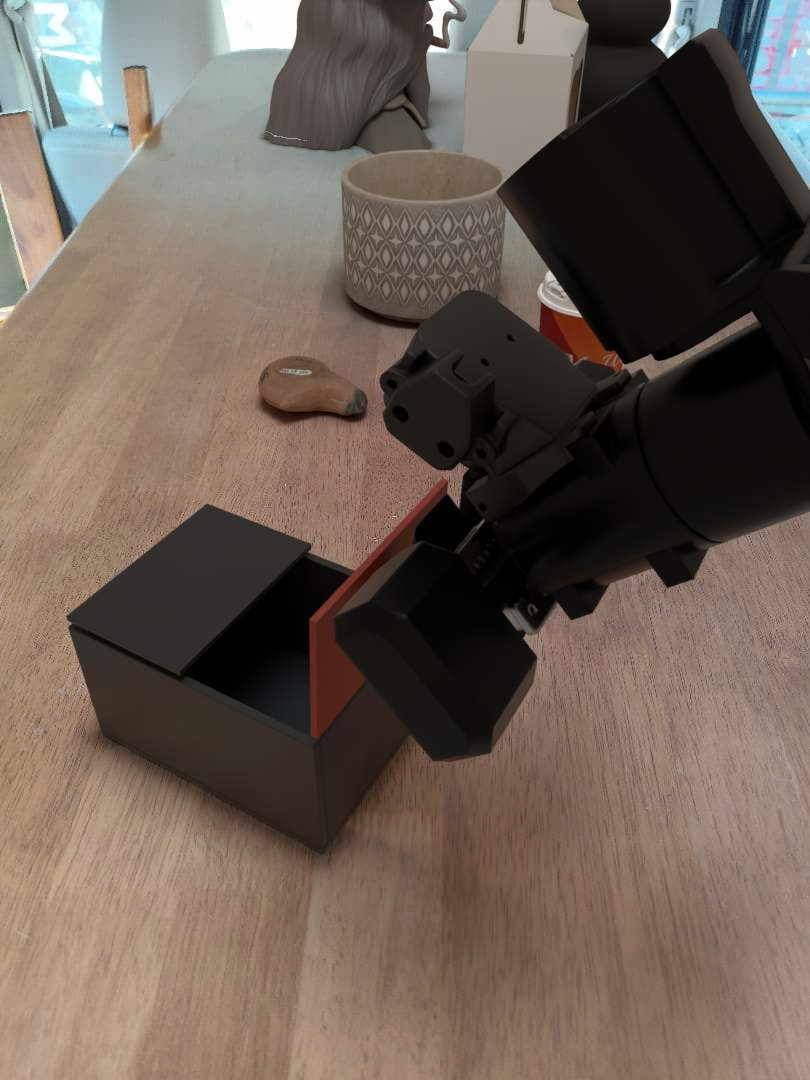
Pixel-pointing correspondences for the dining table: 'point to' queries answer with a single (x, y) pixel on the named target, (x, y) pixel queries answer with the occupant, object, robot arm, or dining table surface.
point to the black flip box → (232, 674)
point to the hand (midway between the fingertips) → (392, 593)
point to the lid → (328, 662)
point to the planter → (421, 230)
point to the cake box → (523, 79)
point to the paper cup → (570, 327)
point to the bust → (357, 76)
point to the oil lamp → (309, 387)
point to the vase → (619, 47)
